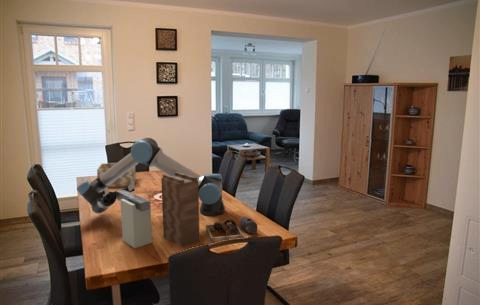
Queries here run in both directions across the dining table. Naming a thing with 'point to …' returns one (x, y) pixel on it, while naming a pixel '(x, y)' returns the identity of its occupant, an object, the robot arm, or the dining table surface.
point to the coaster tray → (217, 239)
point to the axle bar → (134, 200)
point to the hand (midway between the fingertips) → (121, 187)
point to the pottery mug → (225, 227)
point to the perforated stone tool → (248, 225)
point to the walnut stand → (180, 208)
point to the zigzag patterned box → (121, 181)
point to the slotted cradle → (135, 225)
